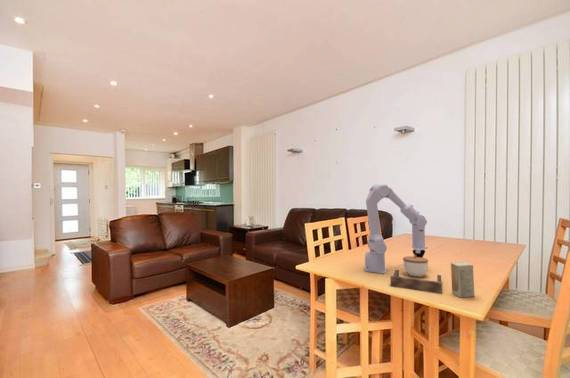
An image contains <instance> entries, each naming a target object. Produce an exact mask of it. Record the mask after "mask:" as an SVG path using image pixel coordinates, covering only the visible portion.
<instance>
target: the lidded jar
mask: <svg viewBox="0 0 570 378" xmlns="http://www.w3.org/2000/svg"><path fill="white" fill-rule="evenodd" d="M402 260H403V261H402V262H403V267H404V270H405V271H406V272H407V273H408V275H409V276H412V277H421V278H422V277H423V276H424V275H425V274H426V273H427V272H428V268H429V260H428V258H425V257H423V258H422V257H416V255H414V254H413V256H412V255H411V256H410V255H409V256H404V257H402Z"/></svg>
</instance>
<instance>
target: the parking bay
mask: <svg viewBox="0 0 570 378" xmlns="http://www.w3.org/2000/svg"><path fill="white" fill-rule="evenodd" d="M436 279H437V280H436V281H435V280H428V279H421V278H420V279H419V278H412V277H405V276H400V270H399V269H395V270H394V272H393V274H392V275H390V287H396V288H403V289H410V290H416V291H423V292H428V293H429V292H430V293H436V294H443V283H442V282H443V281H442V275H441V274H436Z"/></svg>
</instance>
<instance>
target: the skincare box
mask: <svg viewBox="0 0 570 378" xmlns="http://www.w3.org/2000/svg"><path fill="white" fill-rule="evenodd" d="M450 273H451V274H450V275H451V293H452V294H454V295H455V296H456V297H459V298H469V297H471V298H472V297H475V282H474V280H475V279H474V264H472V263H469V262H466V261H460V262H459V261H458V262H450Z"/></svg>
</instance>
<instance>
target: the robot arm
mask: <svg viewBox="0 0 570 378" xmlns="http://www.w3.org/2000/svg"><path fill="white" fill-rule="evenodd" d="M384 198H386V199H389V200H390V201H391V202H392V203H394V204H395V205H396V206H397V207H398V208H399V209H400V213H401V214H403V215H404V217H405V218H406V219H408V221H409V223H410V224H411V231H412V233H411V235H412V236H411V237H412V239H411V240H412V245H411V246H412V247H411V248H412V253H413V256H414V255H416V257H422V258H424V255H425V253H426V250H428V248H429V247H428V246H426V234H425V233H426V231H425V229H426V228H425V227H426V225H427V223H428V220H427V219H426V217H425V216H424V215H421V214H420V212H419V211H417V210H416V209H415V208H414V205H412V204H408V203H405V202H404V201H403V200H402V199H401V198H400V197H399V196H398V195H397V193H395V192H394V190H393V188H392V187H389V186H388V185H387V184H384V183H383V184H374V185H372V186H371V187H370V188H369V191H368V195H367V197H366V200H365V203H366V211H367V219H368V220H367V221H368V227H369V228H368V229H369V236H368V242H367V247H368V248H369V251H367V252H365V254H364V271H365V272H367V273H368V272H370V273H376V274H377V273H378V274H385V273H386V271H387V270H388V269H387V267H386V259H385V253H386V252H387V249H388V247H387V244H386V243H385V241H384V237H383V236H382V231H381V224H380V217H379V209H378V208H379V207H378V204H379V203H380V202H381V200H382V199H384ZM425 249H426V250H425Z"/></svg>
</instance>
